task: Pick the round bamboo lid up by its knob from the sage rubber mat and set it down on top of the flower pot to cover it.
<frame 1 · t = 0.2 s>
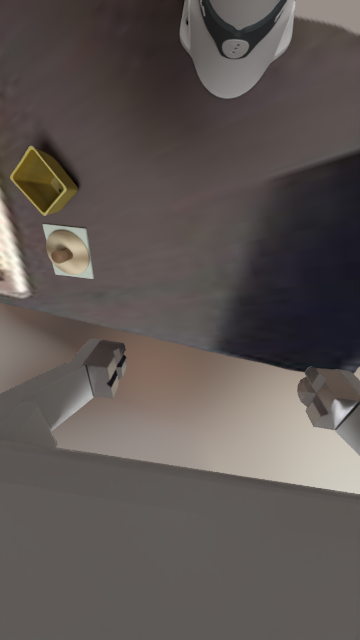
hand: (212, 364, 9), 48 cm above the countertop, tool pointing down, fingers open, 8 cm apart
lid: (69, 253, 55), resting on mat
flower pot: (65, 186, 47), on the countertop
mat: (70, 252, 56), on the countertop
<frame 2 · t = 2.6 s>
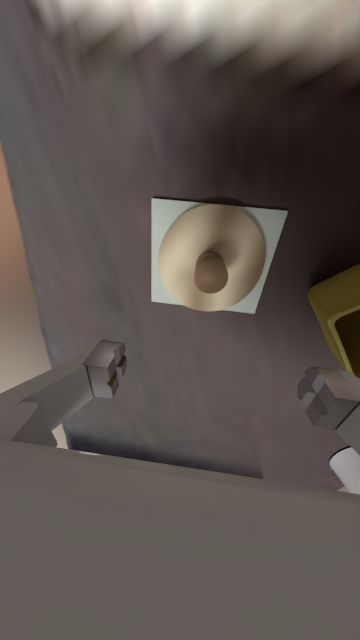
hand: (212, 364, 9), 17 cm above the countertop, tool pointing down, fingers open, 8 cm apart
lid: (209, 263, 23), resting on mat
flower pot: (335, 291, 24), on the countertop
mat: (209, 261, 23), on the countertop
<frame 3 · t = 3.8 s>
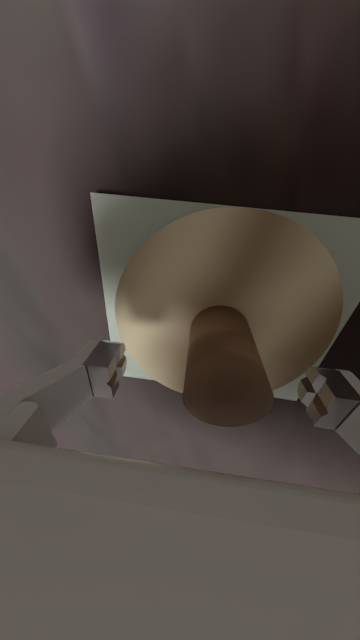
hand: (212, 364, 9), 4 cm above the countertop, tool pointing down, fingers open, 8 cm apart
lid: (218, 321, 12), resting on mat
mat: (217, 317, 12), on the countertop
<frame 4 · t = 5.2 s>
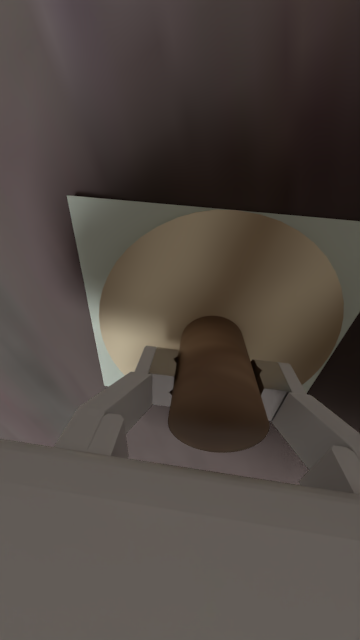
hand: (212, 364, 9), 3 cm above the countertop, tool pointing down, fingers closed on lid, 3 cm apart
lid: (210, 331, 11), resting on mat, touching gripper
mat: (209, 326, 11), on the countertop
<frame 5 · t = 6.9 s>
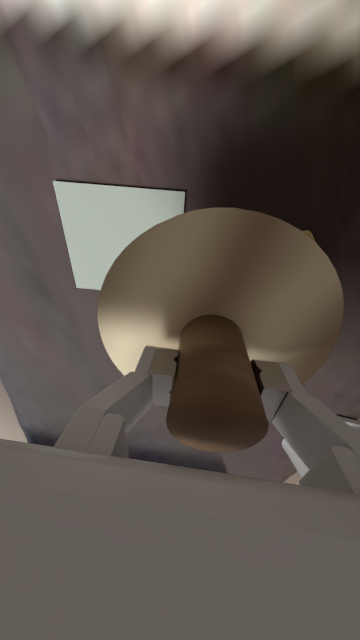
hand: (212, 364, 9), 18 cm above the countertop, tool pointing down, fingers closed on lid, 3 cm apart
lid: (210, 330, 11), point 15 cm above the countertop, touching gripper
mat: (124, 245, 24), on the countertop
when the fingers open (13 cm above the countertop, at t = 8.7 s): lid drops 2 cm, resting on flower pot.
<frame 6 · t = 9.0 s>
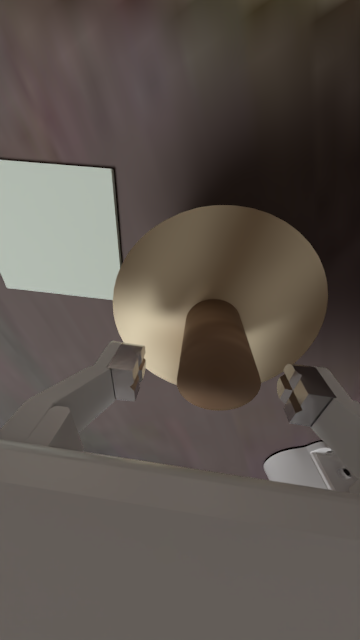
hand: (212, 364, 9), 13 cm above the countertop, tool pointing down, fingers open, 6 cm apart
lid: (211, 315, 12), point 9 cm above the countertop, touching flower pot
mat: (52, 238, 20), on the countertop
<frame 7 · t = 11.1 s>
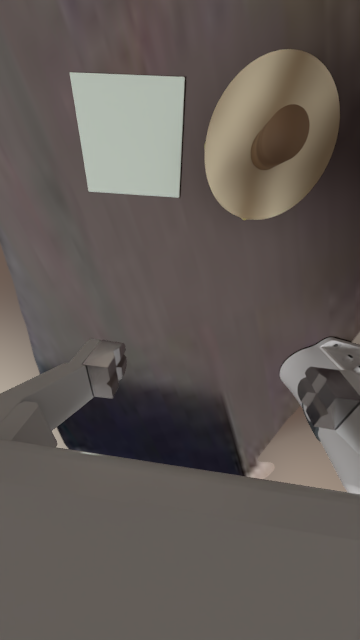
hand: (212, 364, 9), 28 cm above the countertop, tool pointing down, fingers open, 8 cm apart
lid: (265, 151, 19), point 9 cm above the countertop, touching flower pot
mat: (131, 142, 26), on the countertop
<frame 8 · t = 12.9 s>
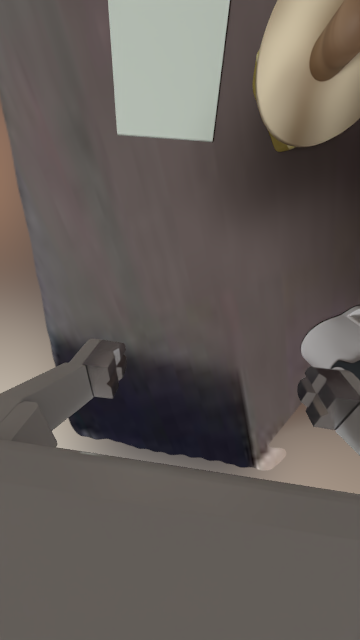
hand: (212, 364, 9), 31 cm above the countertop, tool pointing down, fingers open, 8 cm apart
lid: (323, 61, 18), point 9 cm above the countertop, touching flower pot
mat: (166, 77, 25), on the countertop
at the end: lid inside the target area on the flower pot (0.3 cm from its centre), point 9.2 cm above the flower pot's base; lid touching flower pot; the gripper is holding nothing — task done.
